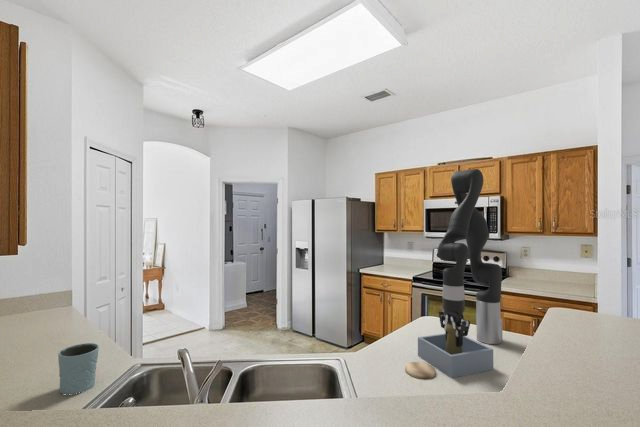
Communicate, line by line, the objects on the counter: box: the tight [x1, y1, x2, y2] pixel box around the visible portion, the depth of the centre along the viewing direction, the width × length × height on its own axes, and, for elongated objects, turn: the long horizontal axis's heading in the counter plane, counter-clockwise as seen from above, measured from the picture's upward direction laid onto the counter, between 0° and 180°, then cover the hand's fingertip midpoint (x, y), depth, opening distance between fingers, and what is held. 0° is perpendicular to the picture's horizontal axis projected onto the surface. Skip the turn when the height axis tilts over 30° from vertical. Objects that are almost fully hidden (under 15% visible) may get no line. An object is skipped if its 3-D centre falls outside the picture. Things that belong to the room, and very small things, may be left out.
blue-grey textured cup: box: [57, 342, 100, 395], centre depth 99 cm, size 10×10×12 cm
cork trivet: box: [404, 361, 437, 380], centre depth 109 cm, size 10×10×1 cm
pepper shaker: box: [445, 324, 462, 355], centre depth 116 cm, size 6×6×11 cm
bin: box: [417, 333, 494, 379], centre depth 116 cm, size 18×18×7 cm
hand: (453, 343), depth 116 cm, fingers closed on pepper shaker, 4 cm apart
